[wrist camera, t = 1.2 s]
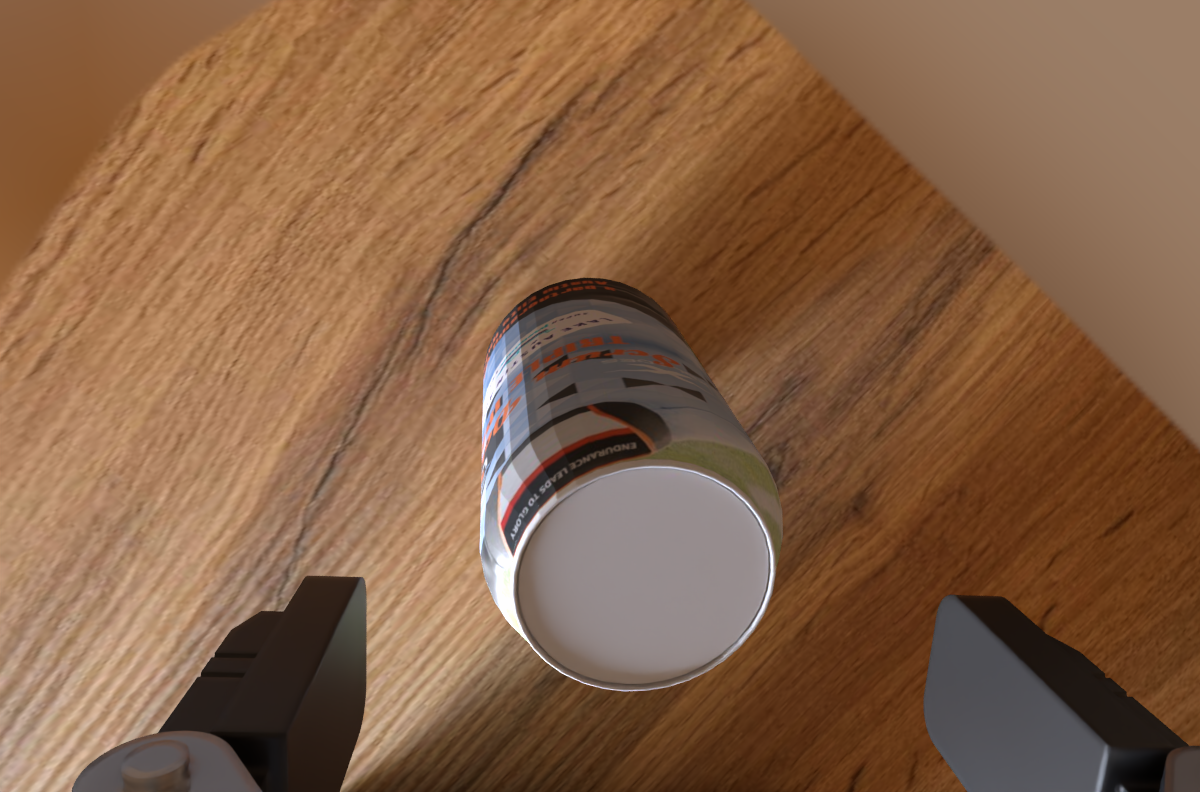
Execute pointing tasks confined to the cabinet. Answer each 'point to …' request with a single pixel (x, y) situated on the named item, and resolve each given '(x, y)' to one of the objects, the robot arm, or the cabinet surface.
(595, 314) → the beverage can
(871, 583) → the cabinet surface
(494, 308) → the cabinet surface
